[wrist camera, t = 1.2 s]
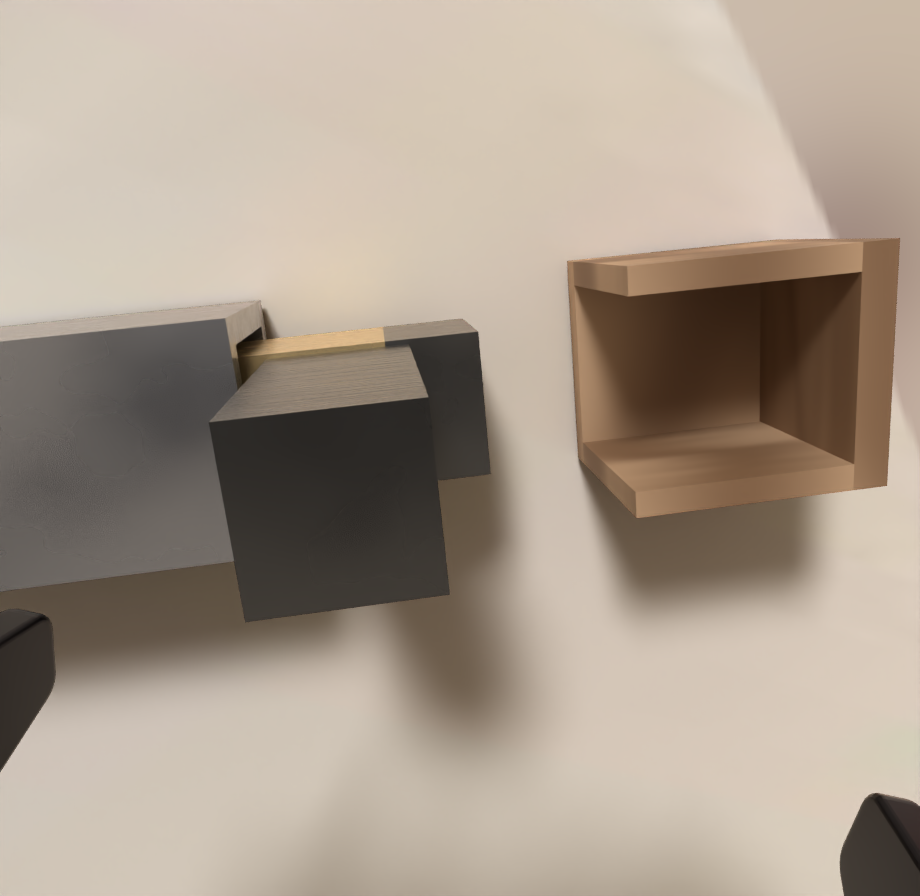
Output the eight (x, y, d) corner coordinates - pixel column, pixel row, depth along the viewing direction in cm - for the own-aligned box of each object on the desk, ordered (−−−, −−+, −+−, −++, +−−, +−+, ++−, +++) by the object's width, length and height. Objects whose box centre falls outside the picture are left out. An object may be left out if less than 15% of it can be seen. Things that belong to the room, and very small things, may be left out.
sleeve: (-96, 533, 20) (-241, 622, 16) (-153, 342, 19) (-331, 375, 14) (290, 485, 21) (266, 557, 16) (260, 300, 20) (224, 318, 15)
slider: (-130, 513, 19) (-542, 735, 11) (-170, 385, 18) (-652, 512, 10) (473, 441, 20) (548, 587, 12) (462, 318, 20) (534, 377, 11)
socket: (578, 457, 22) (636, 517, 17) (567, 260, 20) (627, 266, 16) (776, 433, 22) (887, 485, 18) (778, 239, 21) (899, 238, 16)
